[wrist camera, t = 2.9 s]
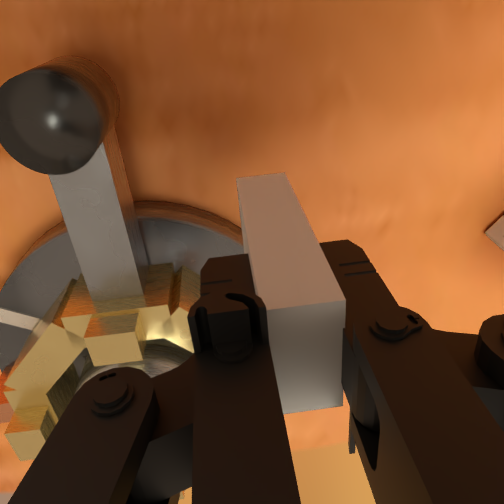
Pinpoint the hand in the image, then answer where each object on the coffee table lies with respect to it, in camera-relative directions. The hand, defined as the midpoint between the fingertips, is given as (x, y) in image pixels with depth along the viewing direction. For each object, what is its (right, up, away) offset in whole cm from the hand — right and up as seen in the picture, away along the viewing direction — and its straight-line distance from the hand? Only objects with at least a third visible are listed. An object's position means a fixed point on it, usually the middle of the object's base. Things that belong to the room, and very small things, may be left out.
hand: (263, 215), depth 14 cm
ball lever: (-6, -3, +6) cm, 9 cm away
